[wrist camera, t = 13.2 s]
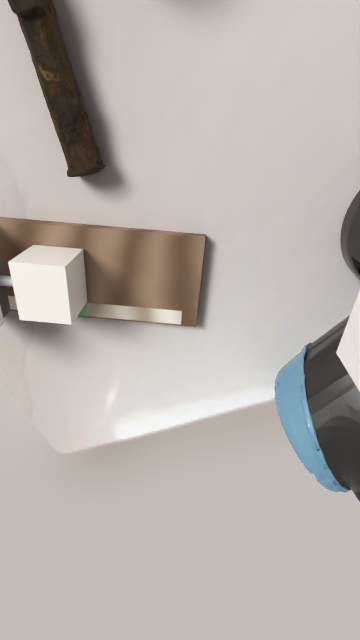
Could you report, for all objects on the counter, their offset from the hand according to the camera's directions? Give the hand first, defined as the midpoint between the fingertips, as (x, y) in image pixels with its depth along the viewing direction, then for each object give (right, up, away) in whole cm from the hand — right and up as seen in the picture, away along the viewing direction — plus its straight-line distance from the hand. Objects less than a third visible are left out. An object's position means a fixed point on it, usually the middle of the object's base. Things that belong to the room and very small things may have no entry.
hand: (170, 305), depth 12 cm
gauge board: (-12, +6, +31) cm, 33 cm away
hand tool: (-12, +24, +21) cm, 34 cm away
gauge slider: (-16, +4, +30) cm, 34 cm away
